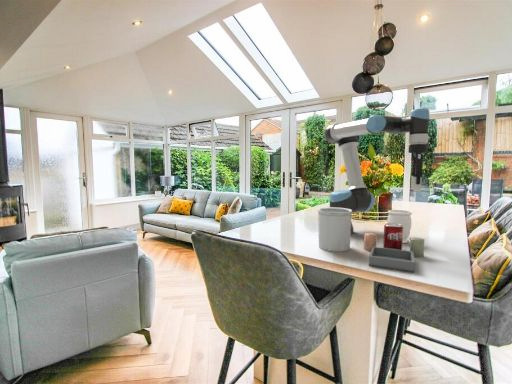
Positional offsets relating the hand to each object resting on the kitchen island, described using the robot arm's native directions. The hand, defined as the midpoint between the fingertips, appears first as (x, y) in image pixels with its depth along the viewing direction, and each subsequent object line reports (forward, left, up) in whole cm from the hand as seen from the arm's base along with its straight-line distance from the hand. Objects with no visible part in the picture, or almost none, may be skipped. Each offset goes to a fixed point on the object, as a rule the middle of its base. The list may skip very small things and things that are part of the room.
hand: (415, 190), depth 128 cm
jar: (-6, +5, -26) cm, 27 cm away
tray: (-8, -32, -26) cm, 42 cm away
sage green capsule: (+1, -17, -26) cm, 31 cm away
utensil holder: (-32, -21, -26) cm, 46 cm away
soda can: (-8, -17, -26) cm, 32 cm away
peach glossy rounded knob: (-17, -17, -26) cm, 35 cm away
